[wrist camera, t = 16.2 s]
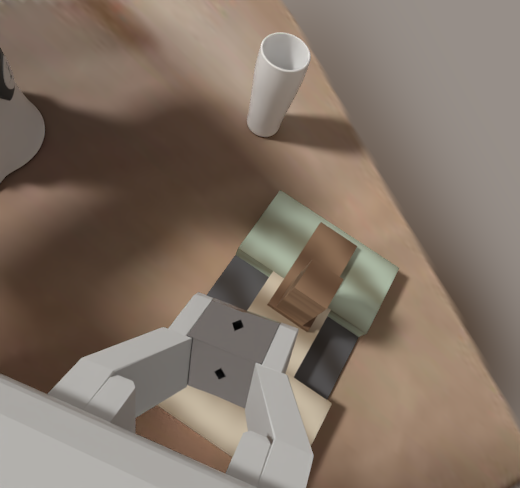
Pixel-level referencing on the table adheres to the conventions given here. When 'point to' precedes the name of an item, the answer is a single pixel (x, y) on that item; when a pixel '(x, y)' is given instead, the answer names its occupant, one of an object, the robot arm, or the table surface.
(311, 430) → the board
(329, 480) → the table surface
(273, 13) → the table surface
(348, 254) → the push block
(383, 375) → the table surface
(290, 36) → the drinking glass
